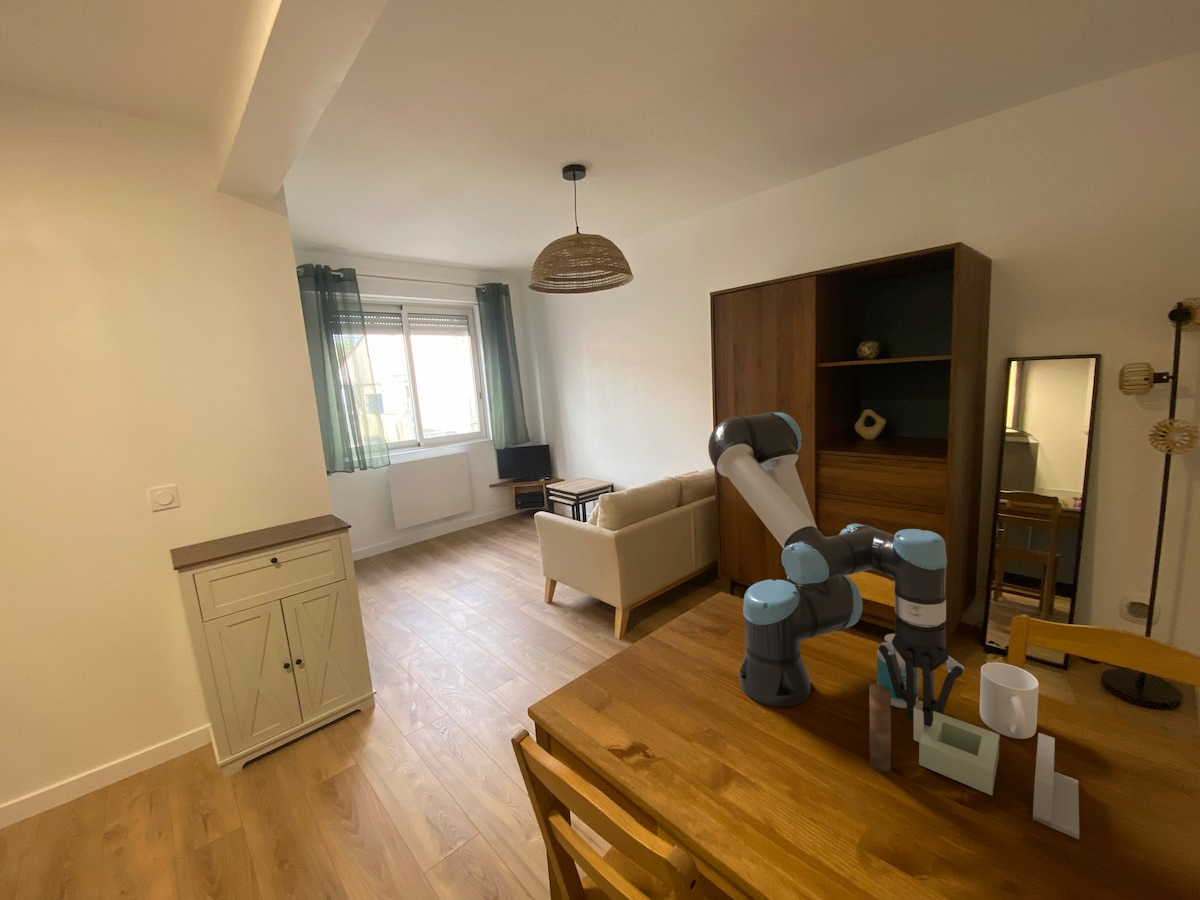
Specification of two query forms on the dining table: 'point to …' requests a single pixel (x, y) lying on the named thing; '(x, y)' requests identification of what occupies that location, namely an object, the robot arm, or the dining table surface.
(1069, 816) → the grey l-shaped piece
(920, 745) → the block
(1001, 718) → the mug
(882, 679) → the pill bottle
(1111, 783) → the dining table surface
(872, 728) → the dowel
